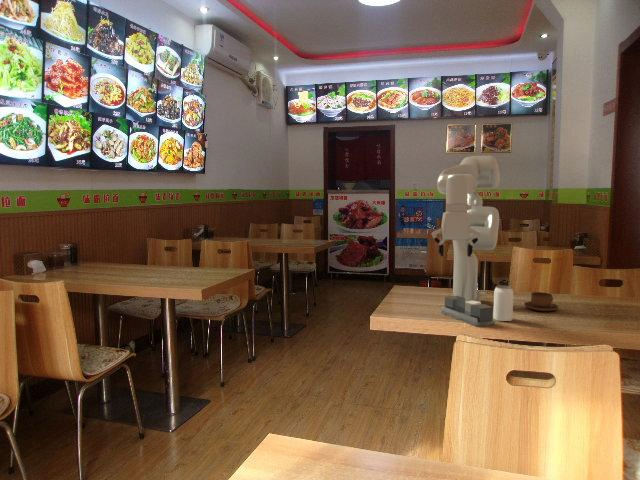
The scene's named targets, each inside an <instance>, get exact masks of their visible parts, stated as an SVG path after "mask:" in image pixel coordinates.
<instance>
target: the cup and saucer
mask: <svg viewBox="0 0 640 480" xmlns="http://www.w3.org/2000/svg"><path fill="white" fill-rule="evenodd" d="M553 300H554V297H553V294H551V293H548V292H541V291H535V292H531V294H530V301H527V302H524V306H525V307H526V308H527V309H530V310H533V311H537V312H551V311H555V310H558V308H559V306H558V305H557V304H555V303H552V301H553Z"/></svg>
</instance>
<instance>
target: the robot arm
mask: <svg viewBox="0 0 640 480" xmlns="http://www.w3.org/2000/svg"><path fill="white" fill-rule="evenodd" d="M500 181H501V176H500V170H499V164H498V161H497V159H496V158H495V157H494V156H492V155H471V156H466V157H464V158H463V159H462V161H461V162H460V163H459V164H458V165H455V166H451V167H448V168H446V169H444V170H442V171H441V172H440V174H439V175H438V177H437V182H436V188H437V191H438V192H439V194H442V195H446V196H445V212H442V218H441V227H440V228H438V229H436V230H434V231H432V232H431V236H432V238H433V240H434V241H435V242H436V243H437V244H438V255H440V257H444V243H445V242H446V241H452V246H453V247H452V249H453V276H452V277H453V278H452V281H453V283H452V296H460V297H463V298H465V302H467V301H472V300H473V301H478V302H481V299H480V297H481V298H482V297H487V292H486V291H481V292H480V291H479V290H478V274H479V273H478V270H479V269H478V268H479V262H478V258H477V256H476V254H475V253H474V252H473V250H476V251H478V250H479V251H492V250H494V249H495V248H496V247H497V243H498V238H499V237H498V236H499V226H500V213H499V210H498V209H497V208H496V207H494V206H483V204H484V203H483V202H484V201H483V198H482V197H481V195H480V194H479V193H477V192H476V190H493V189H496V188H498V187H499V184H500V183H501V182H500ZM439 234H440V237H441V238H440V239H439V238H438V237H437V235H439Z"/></svg>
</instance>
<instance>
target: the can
mask: <svg viewBox="0 0 640 480" xmlns="http://www.w3.org/2000/svg"><path fill="white" fill-rule="evenodd" d="M493 291H494V292H493V320H494V319H495V320H494V321H497V322H501V321H509V322H511V321H513V314H514V313H513V312H514V311H513V310H514V290H513V286H511V285H510V286H509V285H496V286H495V288H494V290H493Z"/></svg>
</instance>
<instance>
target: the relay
mask: <svg viewBox="0 0 640 480" xmlns="http://www.w3.org/2000/svg"><path fill="white" fill-rule="evenodd" d="M479 304H482V302H481V301H480V302H478V301H473V300H472V301H467V302H465V311H468V312H470V307H471V305H479Z"/></svg>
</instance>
